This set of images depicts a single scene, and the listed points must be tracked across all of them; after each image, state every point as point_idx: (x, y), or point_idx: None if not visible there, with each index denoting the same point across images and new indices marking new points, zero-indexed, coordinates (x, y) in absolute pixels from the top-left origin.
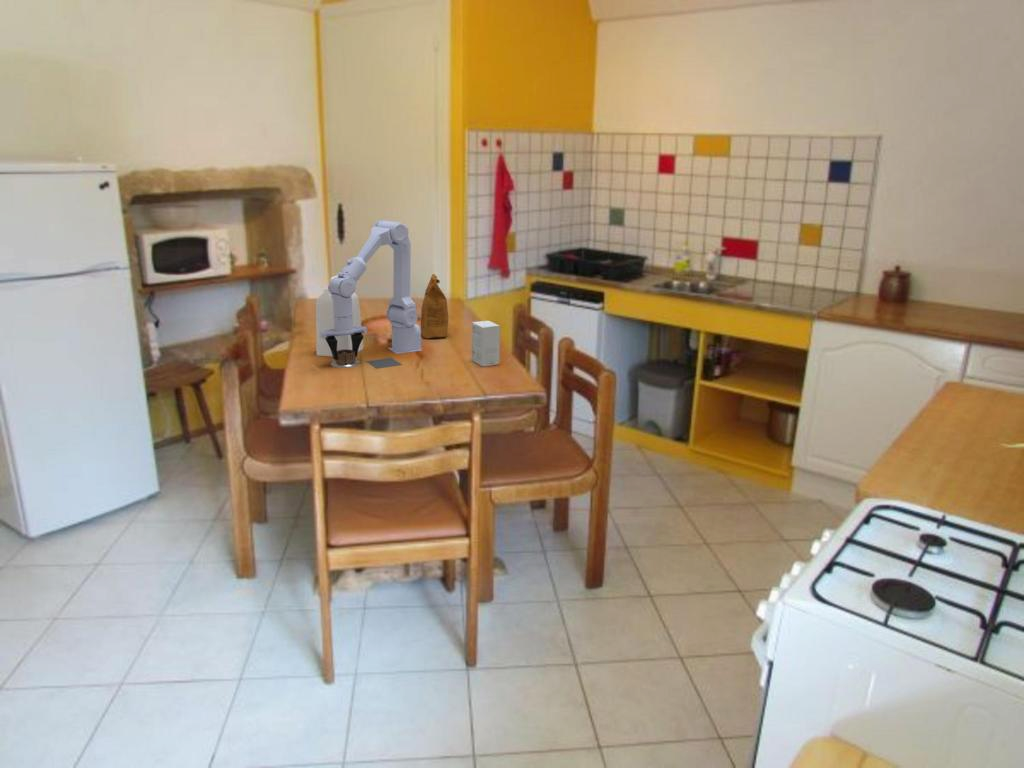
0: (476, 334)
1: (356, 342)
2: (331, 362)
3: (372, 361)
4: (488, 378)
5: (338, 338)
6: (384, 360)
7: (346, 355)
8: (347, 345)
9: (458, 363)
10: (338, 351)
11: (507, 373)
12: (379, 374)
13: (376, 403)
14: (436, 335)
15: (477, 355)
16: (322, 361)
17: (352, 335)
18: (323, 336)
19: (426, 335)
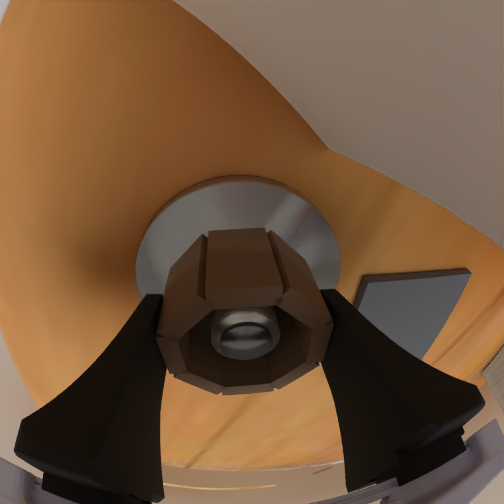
0: None
1: (345, 439)
2: (143, 246)
3: (389, 298)
4: None
5: (364, 55)
6: (430, 302)
7: (228, 389)
8: (390, 169)
9: (488, 350)
10: (195, 324)
11: None
12: (305, 400)
13: (202, 468)
14: None
15: (501, 371)
16: (113, 98)
17: (392, 452)
18: (39, 496)
19: None
